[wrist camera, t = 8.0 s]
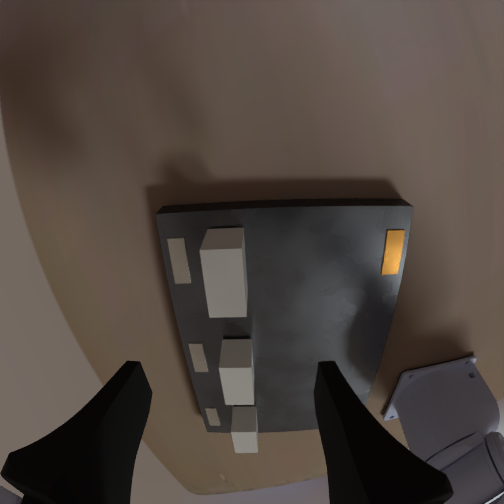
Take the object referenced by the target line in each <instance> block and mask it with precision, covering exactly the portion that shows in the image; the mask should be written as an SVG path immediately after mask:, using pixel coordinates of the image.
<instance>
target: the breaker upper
mask: <svg viewBox="0 0 504 504" xmlns="http://www.w3.org/2000/svg"><path fill="white" fill-rule="evenodd" d="M231 434H232V439H233V443H234V448H235V453H258V424H257V409H256V406H254V407H233V411H232V426H231Z"/></svg>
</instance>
